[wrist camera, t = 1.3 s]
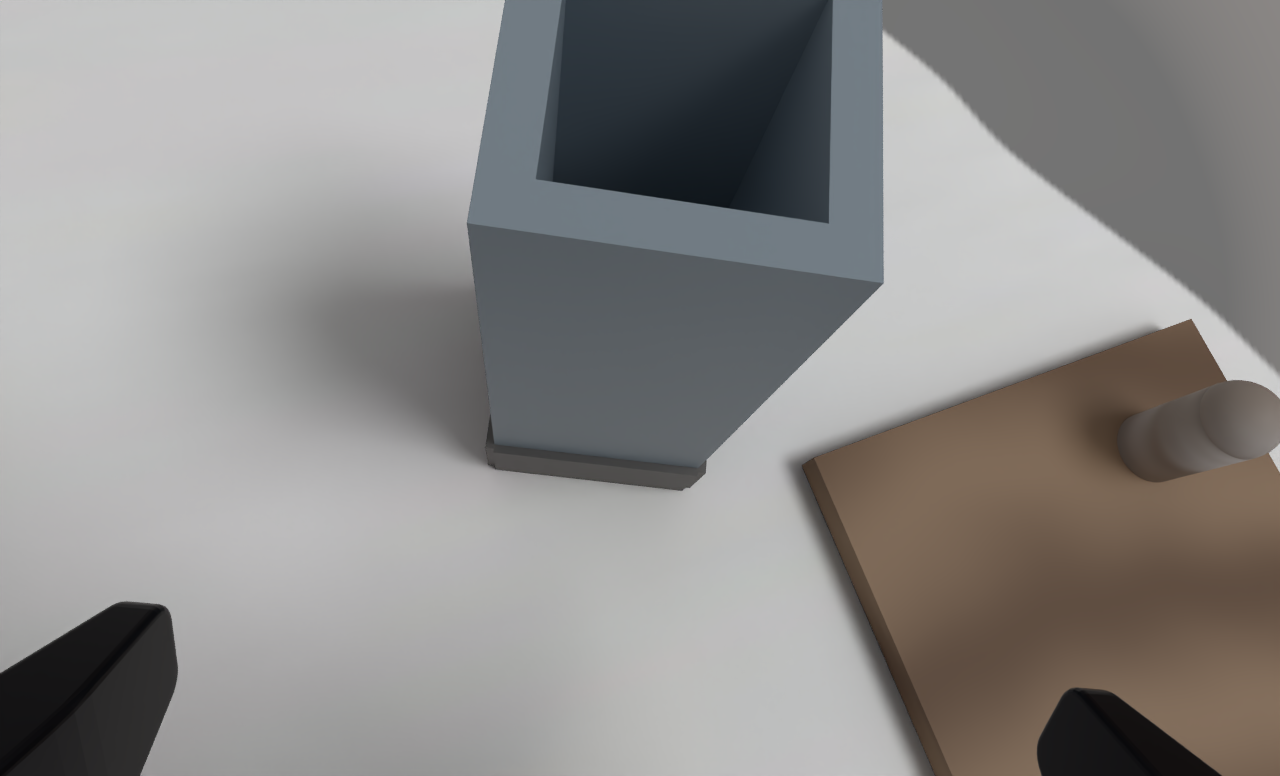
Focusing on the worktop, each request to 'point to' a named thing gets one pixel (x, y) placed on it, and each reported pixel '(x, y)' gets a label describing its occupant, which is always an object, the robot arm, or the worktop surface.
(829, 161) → the sleeve
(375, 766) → the worktop surface
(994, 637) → the pin board
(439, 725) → the worktop surface
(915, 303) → the worktop surface
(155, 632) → the robot arm
